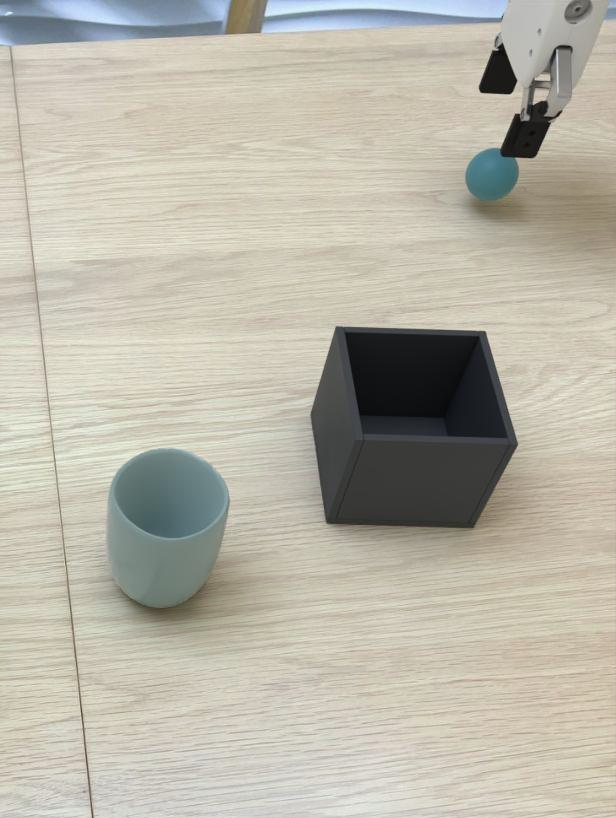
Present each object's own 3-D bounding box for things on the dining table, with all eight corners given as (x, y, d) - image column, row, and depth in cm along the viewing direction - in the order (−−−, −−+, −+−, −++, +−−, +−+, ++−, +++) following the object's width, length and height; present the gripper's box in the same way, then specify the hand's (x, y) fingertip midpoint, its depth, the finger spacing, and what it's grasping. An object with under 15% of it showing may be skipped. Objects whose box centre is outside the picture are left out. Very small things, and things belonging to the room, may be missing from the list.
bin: (447, 417, 89) (485, 330, 81) (474, 528, 82) (518, 444, 75) (310, 413, 89) (335, 325, 81) (325, 523, 82) (355, 439, 75)
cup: (81, 571, 79) (85, 485, 71) (160, 517, 82) (172, 429, 74) (153, 643, 76) (166, 561, 68) (232, 584, 79) (254, 499, 71)
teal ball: (503, 181, 108) (520, 138, 104) (513, 212, 105) (531, 169, 101) (454, 179, 108) (470, 136, 104) (463, 210, 105) (480, 167, 101)
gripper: (663, -9, 81) (568, 184, 95) (602, -118, 91) (525, 71, 105) (563, -14, 81) (483, 180, 95) (514, -123, 91) (448, 67, 105)
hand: (505, 123), depth 100 cm, fingers open, 9 cm apart
